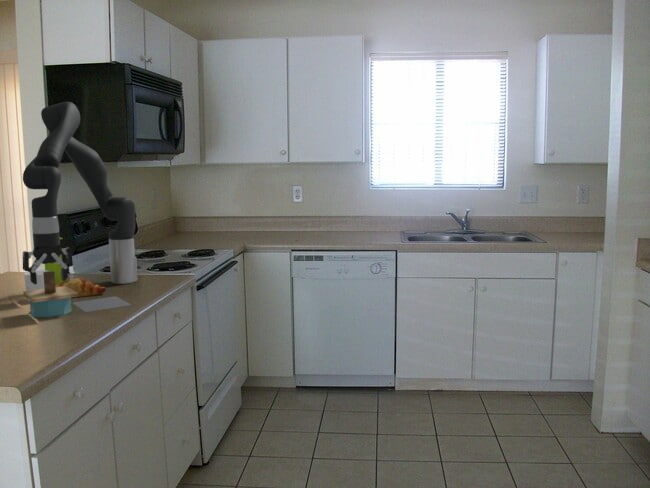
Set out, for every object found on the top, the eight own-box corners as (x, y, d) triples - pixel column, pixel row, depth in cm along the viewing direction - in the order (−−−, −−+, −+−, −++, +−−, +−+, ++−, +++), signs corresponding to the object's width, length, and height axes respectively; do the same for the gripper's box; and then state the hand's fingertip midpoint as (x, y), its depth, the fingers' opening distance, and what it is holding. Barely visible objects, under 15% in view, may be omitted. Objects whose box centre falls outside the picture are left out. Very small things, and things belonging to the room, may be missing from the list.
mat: (116, 297, 214) (116, 296, 214) (131, 306, 203) (131, 304, 203) (71, 304, 205) (71, 302, 205) (85, 314, 194) (85, 312, 193)
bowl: (64, 307, 201) (63, 289, 200) (74, 314, 192) (73, 296, 192) (28, 313, 194) (27, 294, 193) (37, 320, 186) (35, 301, 185)
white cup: (31, 298, 213) (29, 270, 212) (55, 298, 214) (53, 270, 212) (22, 304, 205) (20, 275, 204) (46, 303, 206) (44, 274, 204)
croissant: (43, 307, 215) (37, 290, 211) (53, 288, 223) (47, 271, 219) (104, 306, 216) (99, 288, 211) (111, 287, 224) (106, 270, 219)
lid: (66, 288, 202) (64, 266, 200) (78, 296, 191) (76, 273, 190) (23, 294, 194) (21, 271, 192) (33, 302, 184) (31, 278, 182)
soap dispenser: (59, 292, 222) (56, 238, 219) (43, 291, 223) (39, 237, 220) (69, 289, 227) (66, 236, 224) (53, 288, 229) (49, 235, 226)
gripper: (66, 228, 197) (69, 277, 199) (18, 231, 188) (21, 283, 190) (73, 230, 191) (76, 281, 193) (23, 234, 182) (27, 287, 185)
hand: (49, 282), depth 192 cm, fingers open, 8 cm apart
